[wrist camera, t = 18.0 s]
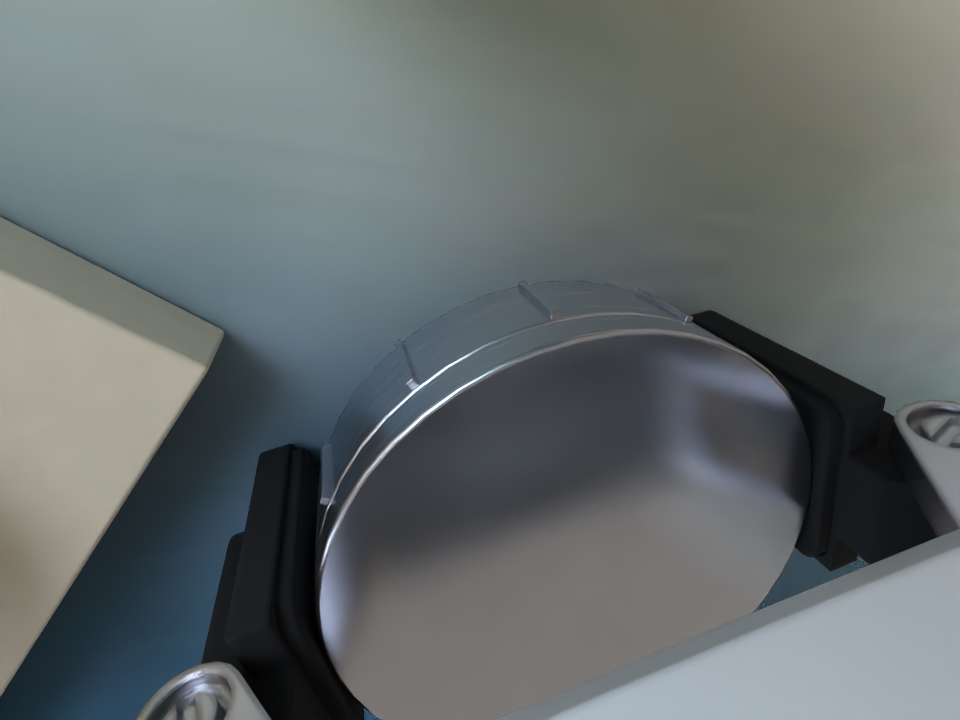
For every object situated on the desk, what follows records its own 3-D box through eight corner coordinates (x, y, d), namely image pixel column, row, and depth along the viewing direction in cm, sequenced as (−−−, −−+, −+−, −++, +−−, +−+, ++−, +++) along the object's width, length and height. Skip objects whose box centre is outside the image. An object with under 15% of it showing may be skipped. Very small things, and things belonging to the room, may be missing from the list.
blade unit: (216, 421, 7) (179, 523, 6) (683, 195, 8) (792, 221, 6) (432, 689, 11) (454, 806, 9) (746, 525, 11) (827, 604, 10)
